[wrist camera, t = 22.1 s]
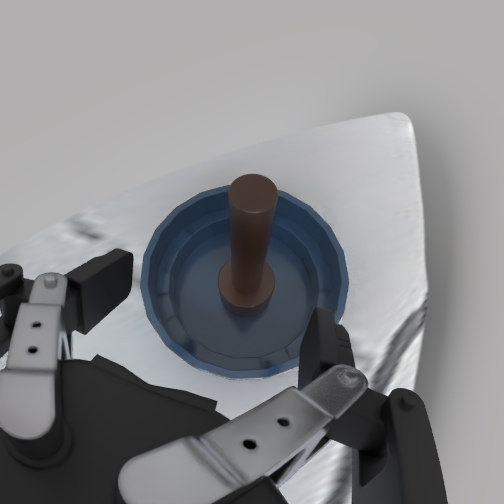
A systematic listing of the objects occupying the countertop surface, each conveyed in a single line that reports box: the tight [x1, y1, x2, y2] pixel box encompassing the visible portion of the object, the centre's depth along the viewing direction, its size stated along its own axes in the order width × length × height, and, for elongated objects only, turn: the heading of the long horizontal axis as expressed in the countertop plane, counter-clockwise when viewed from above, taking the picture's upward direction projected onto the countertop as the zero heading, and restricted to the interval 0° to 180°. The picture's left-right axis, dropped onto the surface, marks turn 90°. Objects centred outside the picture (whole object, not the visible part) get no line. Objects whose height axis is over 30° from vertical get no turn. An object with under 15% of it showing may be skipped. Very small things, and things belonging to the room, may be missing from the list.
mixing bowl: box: [140, 185, 349, 380], centre depth 24 cm, size 15×15×6 cm
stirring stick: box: [218, 174, 278, 317], centre depth 19 cm, size 4×4×14 cm
